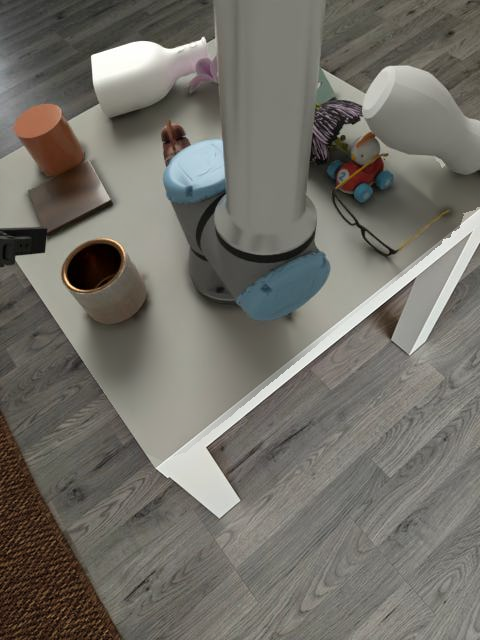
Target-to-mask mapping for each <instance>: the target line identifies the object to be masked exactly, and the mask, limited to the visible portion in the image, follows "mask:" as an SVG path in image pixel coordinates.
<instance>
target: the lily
mask: <svg viewBox="0 0 480 640" xmlns="http://www.w3.org/2000/svg"><path fill="white" fill-rule="evenodd" d="M195 70H196V72H195V73H196V76H195V77H193V78H192V79H191V80H190V81H189V82H188V84H186V86H185V89H186V88H188V87H190V90H189V94H192V93H193V92H194V91H195V89H196V88H197V87H198V86H199V85H200V84H201V83H212V82H213V83H215V84H216V85H217V87H218V88H219V84H218V69H217V55H215V57H214V58H211V59H209V58H203V59H200V60H198V62H197V63H196V68H195Z"/></svg>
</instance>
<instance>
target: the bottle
mask: <svg viewBox="0 0 480 640" xmlns="http://www.w3.org/2000/svg"><path fill="white" fill-rule="evenodd" d="M211 57H212V56H211V54H210V50H209V47H208V43H207V39H206V37H205V36H202V37H201V39H200V40H196V41H192V42H189V43H185V44H184V45H179V46H175V47H174V48H166V47H164V46H162V45H160V44H159V43H157V42H153V41H149V40H148V41H146V40H139V41H133V42H128V43H126V44H123V45H119V46H116V47H114V48H109V49H106V50H104V51H100V52H97V53H94V54H92V55H91V56H90V61H91V74H92V85H93V89H94V93H95V96H96V99H97V101H98V104H99V106H100V108H101V110H102V112H103V114H104V116H105V117H106V118H107V119H112V118H114V117H117V116H121V115H125V114H127V113H131V112H134V111H137V110H141V109H144V108H147V107H150V106H153V105H155V104H156V103H158V102H160V101H161V100H163V99H164V98H165V97H166V96H167V95H168V94H169V93H170V91H171V89H172V88H173V86H174V84H175V82H177V80H179V79H180V78H182V77H186V76H190V75H192V74H195V73H196V70H195V68H196V63H197V62H198V60H200V59H203V58H209V59H211V60H212V58H211Z"/></svg>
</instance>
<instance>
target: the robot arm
mask: <svg viewBox="0 0 480 640" xmlns="http://www.w3.org/2000/svg"><path fill="white" fill-rule="evenodd" d="M326 6H327V0H212V10H213V25H214V38H215V54H216V55H215V56H217V69H218V73H217V83H218V84H219V87H218V99H219V110H220V113H219V114H220V126H221V138H215V139H214V138H212V139H211V138H209V139H204V140H201V141H198V142H195V143H192V144H191V145H190V146H188V147H186V148H185V149H183V150H182V151H180V152H179V153H178V154H176V155H175V156H174V157H173V158H172V159H171V161H170V162H169V165H168V166H167V167H166V166H165V169H164V171H163V177H162V182H163V187H164V190H165V196H166V198H167V200H168V201H169V202H170V204H171V206H172V209H173V211H174V213H175V215H176V218H177V220H178V222H179V225H180V227H181V229H182V232H183V234H184V236H185V239H186V241H187V244H188V246H189V251H188V270H189V275H190V279H191V281H192V283H193V285H194V287H195V288H196V290H197V291H198V292H199V293H200V294H201V295H202V296H204V297H205V298H206V299H208V300H210V301H211V302H215V303H219V304H227V305H232V304H233V305H234V304H236V305H237V306H238V307H241V309H242V310H243V311H244V313H245V314H246V315H247V316H248V317H249V318H251V320H255V321H257V322H261V321H264V322H270V321H274V320H277V319H280V318H283V317H285V316H291V315H292V313H294V312H295V311H296V310H298V309H300V308H301V307H303V306H304V305H306V303H308V302H309V301H310V300H311V299H312V298H314V297H315V296H316V295H317V294H318V293H319V292H320V291H321V289H322V288H323V287H324V285H325V284H326V282H327V281H328V279H329V276H330V274H331V262H330V261H329V260H328V258H327V257H326V256H327V255H326V253H325V252H324V251H321V250H320V249H319V248H318V247H317V245H316V241H315V239H316V233H317V224H318V213H317V208H316V205H315V203H314V202H313V200H312V199H311V198H310V197H309V195H307V189H308V180H309V171H310V163H311V162H310V152H311V143H312V133H313V123H314V114H315V104H316V95H317V89H318V85H319V83H318V75H319V66H320V67H321V65H320V64H321V56H322V45H323V38H324V37H323V35H324V27H325V15H326V8H327V7H326ZM309 162H310V163H309ZM46 246H47V228H44V227H42V226H26V227H0V268H4V267H5V266H13V265H16V257H18V256H28V255H29V256H30V255H38V254H45V253H46V249H47V247H46Z"/></svg>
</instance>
